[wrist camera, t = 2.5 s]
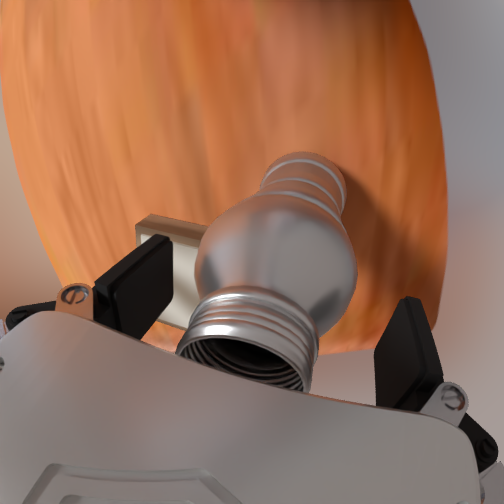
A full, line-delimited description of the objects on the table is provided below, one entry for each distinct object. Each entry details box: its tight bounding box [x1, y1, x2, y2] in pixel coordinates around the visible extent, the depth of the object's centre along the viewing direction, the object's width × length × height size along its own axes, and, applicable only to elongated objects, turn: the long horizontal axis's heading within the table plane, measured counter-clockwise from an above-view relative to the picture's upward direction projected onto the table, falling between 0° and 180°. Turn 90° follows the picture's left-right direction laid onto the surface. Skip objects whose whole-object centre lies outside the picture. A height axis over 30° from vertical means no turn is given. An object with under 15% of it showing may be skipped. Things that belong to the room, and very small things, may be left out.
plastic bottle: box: [175, 152, 358, 393], centre depth 16 cm, size 6×7×20 cm
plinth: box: [135, 214, 208, 331], centre depth 30 cm, size 12×12×3 cm
